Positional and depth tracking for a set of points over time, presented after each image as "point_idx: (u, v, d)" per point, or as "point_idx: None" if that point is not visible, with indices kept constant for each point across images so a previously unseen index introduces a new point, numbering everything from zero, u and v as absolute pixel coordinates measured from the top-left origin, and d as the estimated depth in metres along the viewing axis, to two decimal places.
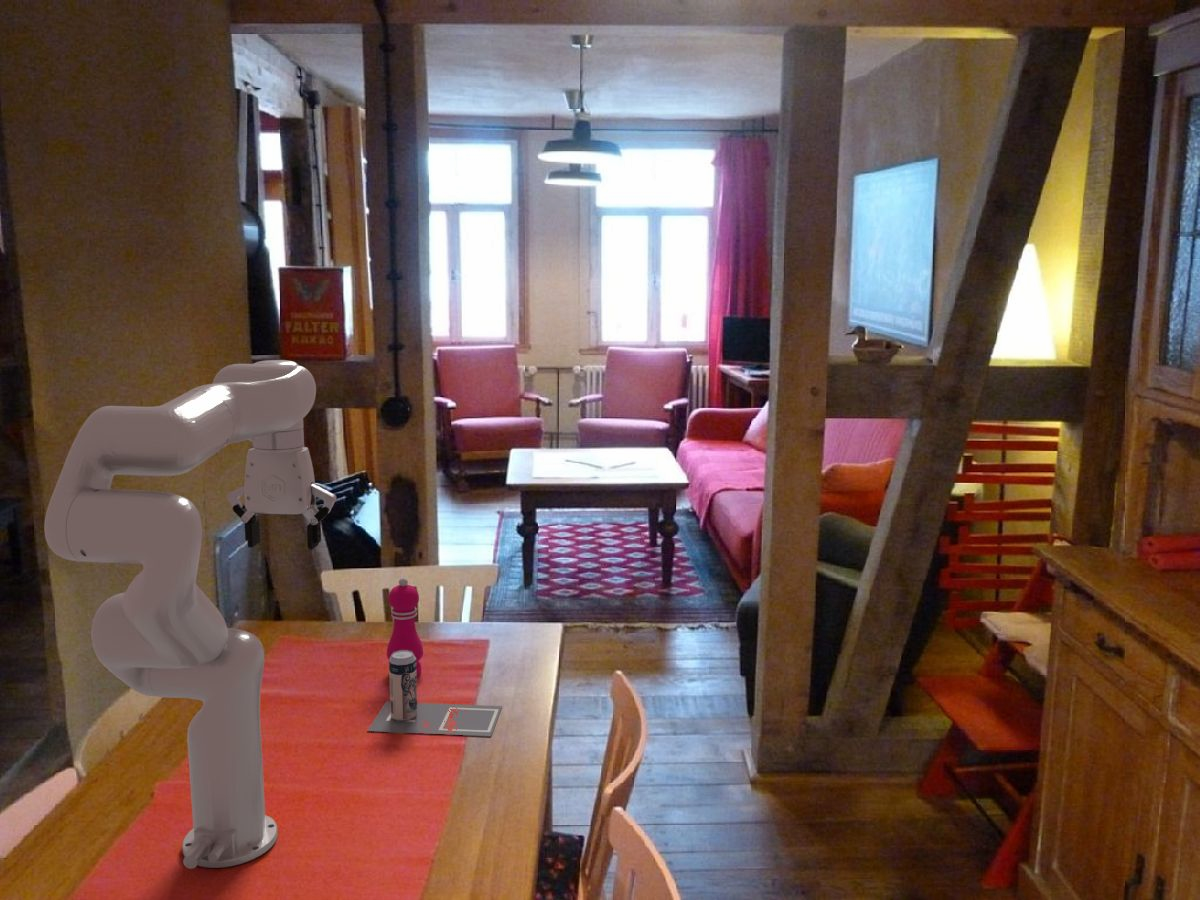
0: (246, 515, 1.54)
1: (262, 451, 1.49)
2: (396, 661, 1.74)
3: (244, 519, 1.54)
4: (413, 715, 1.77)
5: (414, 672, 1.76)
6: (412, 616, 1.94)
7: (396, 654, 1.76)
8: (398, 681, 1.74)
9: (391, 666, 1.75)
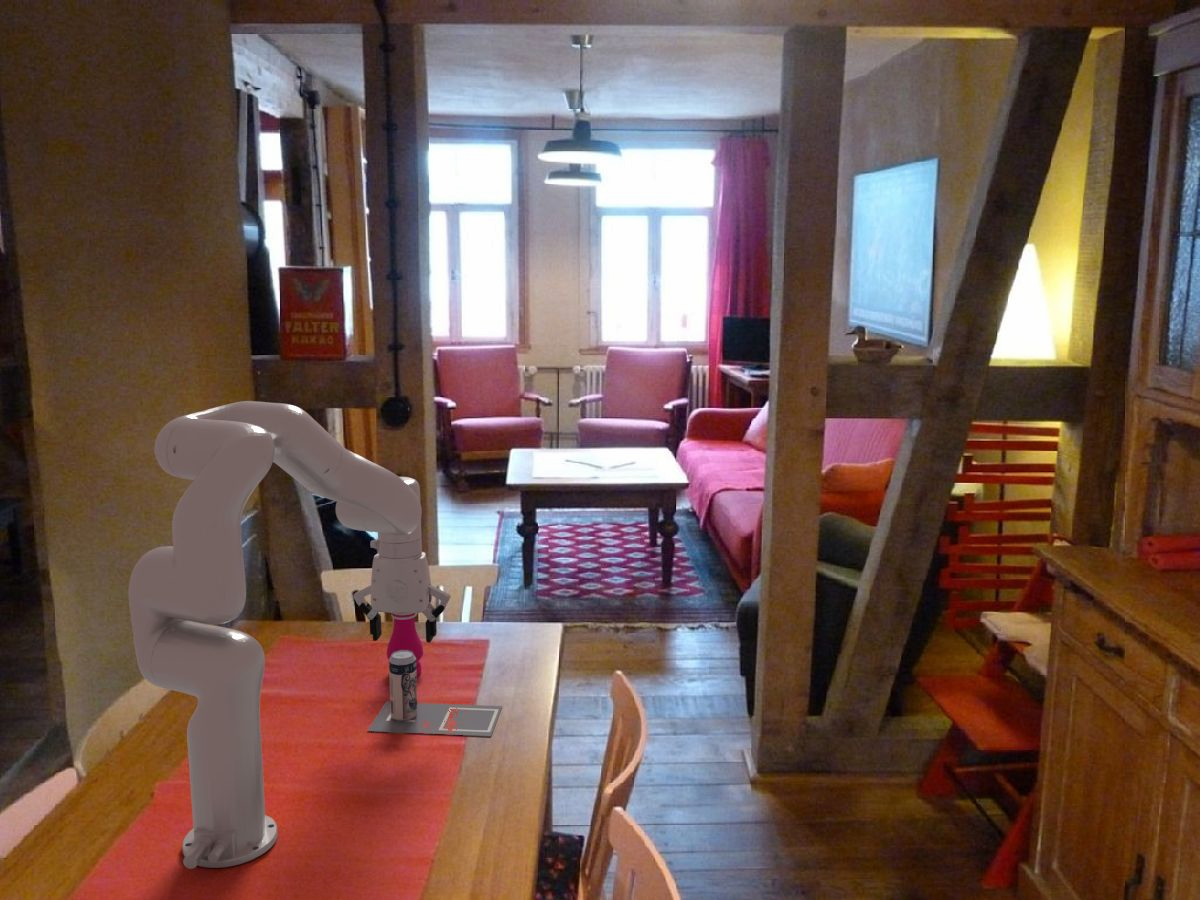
0: (371, 613, 1.74)
1: (388, 559, 1.69)
2: (396, 661, 1.74)
3: (369, 616, 1.74)
4: (413, 715, 1.77)
5: (414, 672, 1.76)
6: (412, 616, 1.94)
7: (396, 654, 1.76)
8: (398, 681, 1.74)
9: (391, 666, 1.75)
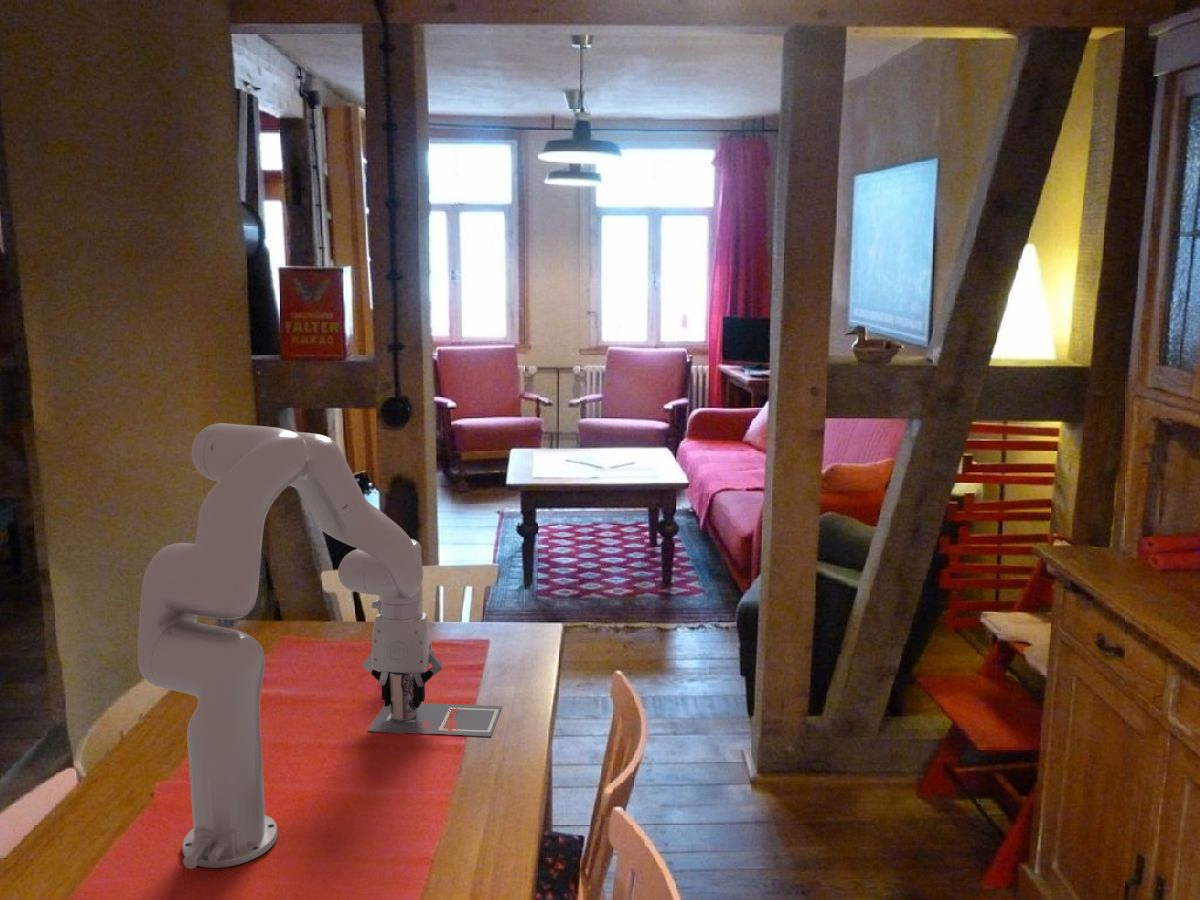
0: (383, 679, 1.76)
1: (389, 621, 1.71)
2: None
3: (382, 682, 1.76)
4: (413, 715, 1.77)
5: None
6: None
7: None
8: (398, 681, 1.74)
9: None
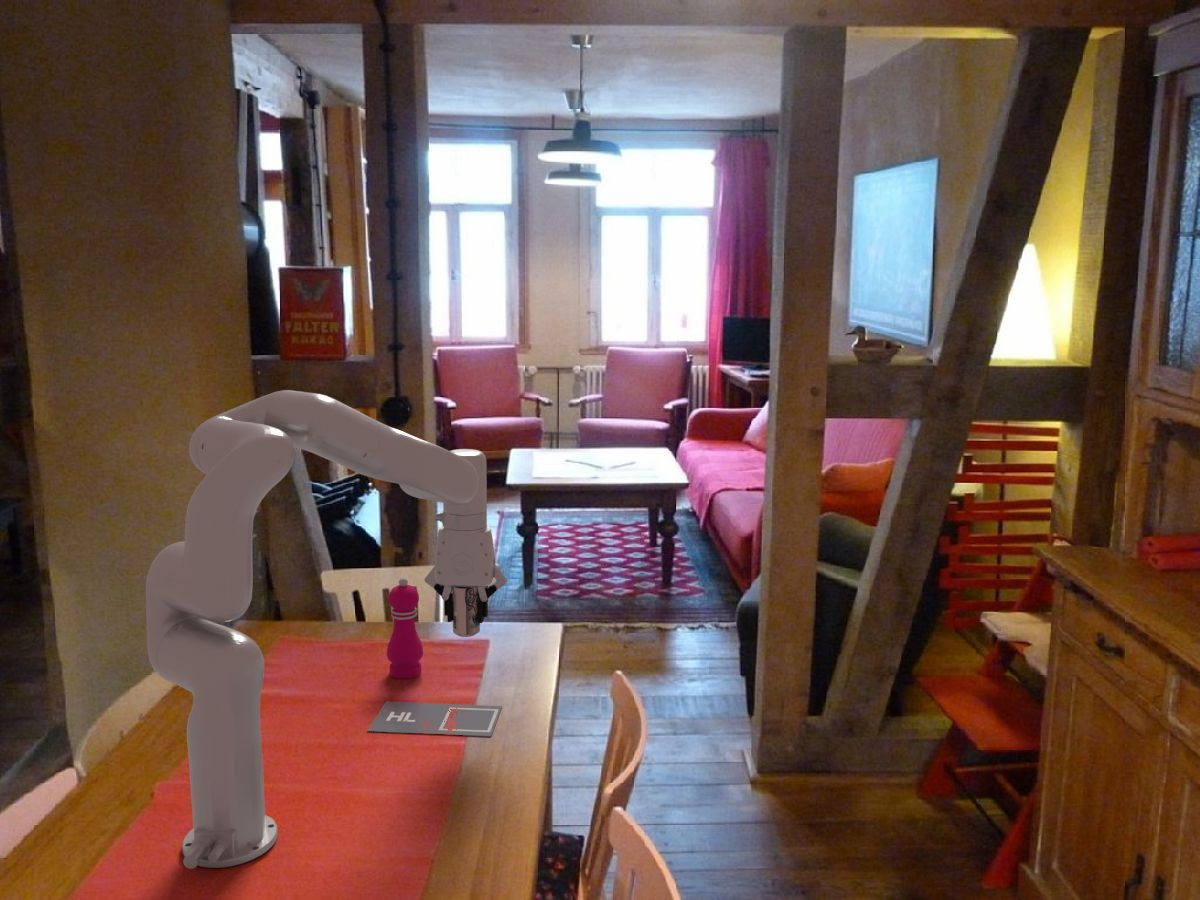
0: (446, 593, 1.72)
1: (454, 532, 1.67)
2: None
3: (445, 597, 1.72)
4: (476, 631, 1.73)
5: None
6: (412, 616, 1.94)
7: None
8: (462, 594, 1.71)
9: None
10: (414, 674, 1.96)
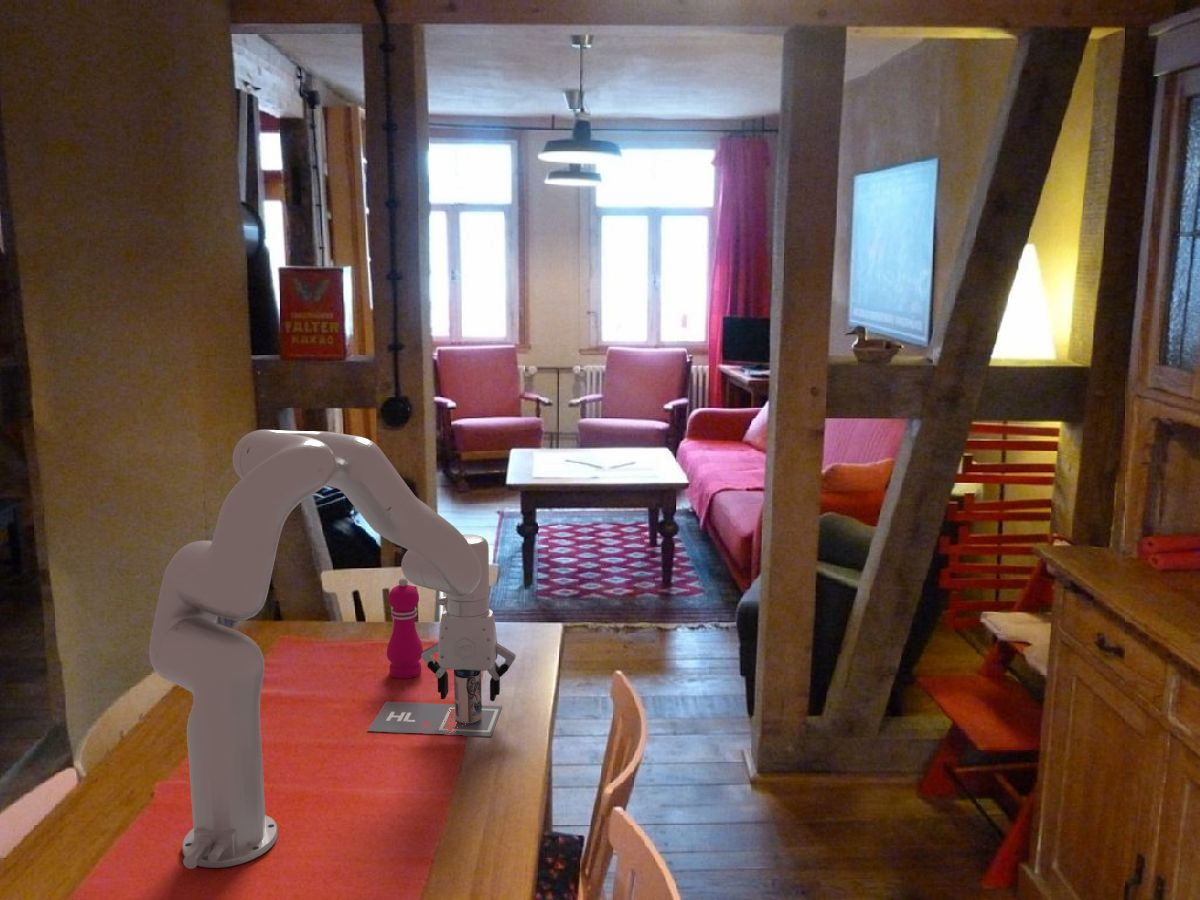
0: (440, 671, 1.75)
1: (457, 618, 1.70)
2: None
3: (438, 675, 1.75)
4: (478, 718, 1.76)
5: (479, 675, 1.75)
6: (412, 616, 1.94)
7: None
8: (464, 684, 1.73)
9: None
10: (414, 674, 1.96)
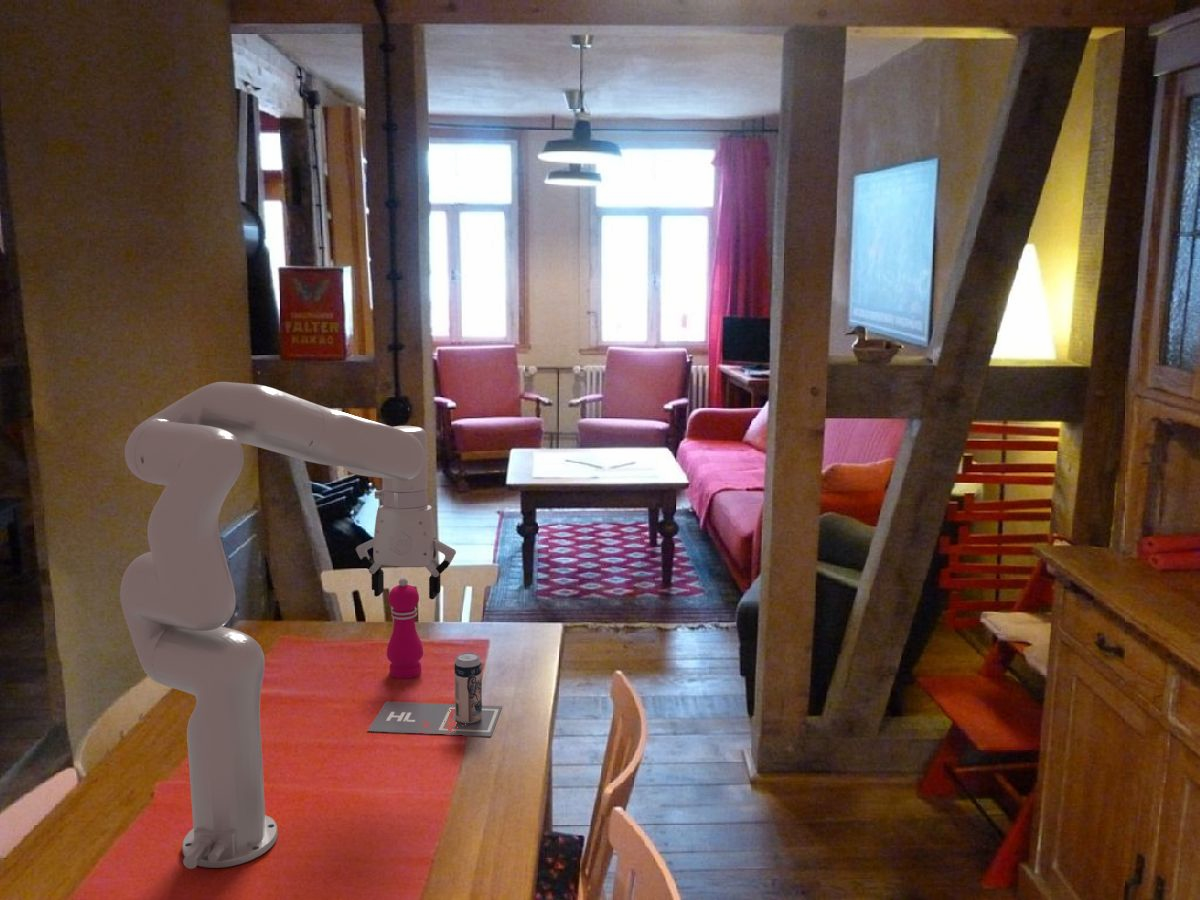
0: (373, 567, 1.68)
1: (392, 509, 1.64)
2: (462, 663, 1.73)
3: (371, 570, 1.68)
4: (478, 718, 1.76)
5: (480, 674, 1.75)
6: (412, 616, 1.94)
7: (461, 656, 1.75)
8: (465, 683, 1.74)
9: (457, 668, 1.74)
10: (414, 674, 1.96)
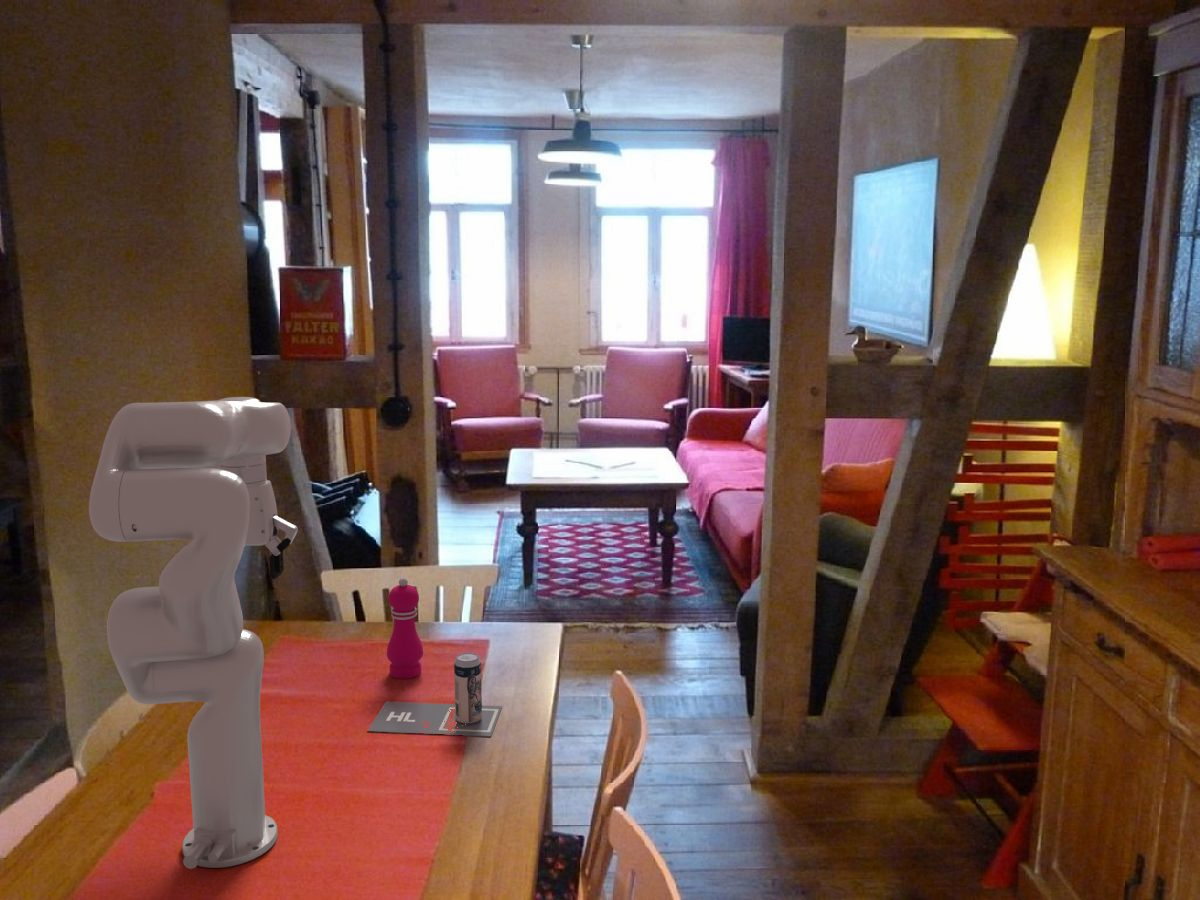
0: None
1: None
2: (462, 664, 1.73)
3: None
4: (478, 718, 1.76)
5: (479, 674, 1.75)
6: (412, 616, 1.94)
7: (461, 657, 1.75)
8: (465, 683, 1.74)
9: (457, 669, 1.74)
10: (414, 674, 1.96)
